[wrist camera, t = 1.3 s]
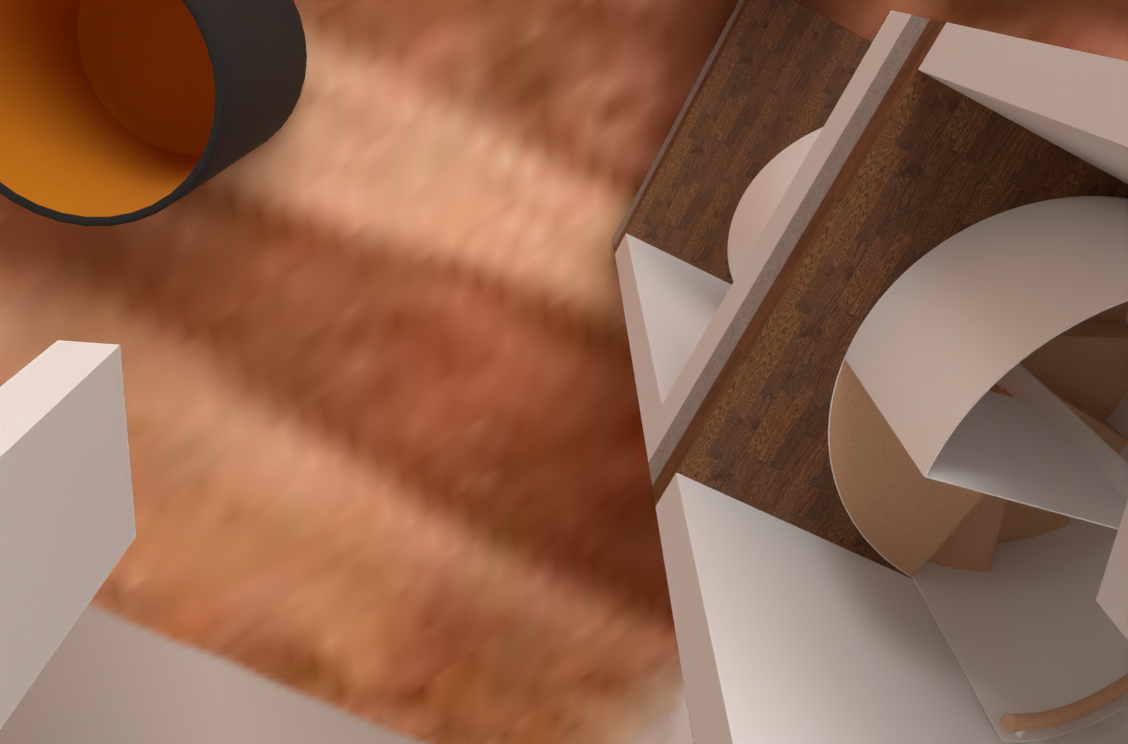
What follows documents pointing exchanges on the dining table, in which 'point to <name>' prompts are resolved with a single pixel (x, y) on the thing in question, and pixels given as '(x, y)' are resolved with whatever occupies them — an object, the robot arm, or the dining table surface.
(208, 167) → the mug
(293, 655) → the dining table surface
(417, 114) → the dining table surface
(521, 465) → the dining table surface
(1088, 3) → the dining table surface
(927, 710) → the white coffee maker
